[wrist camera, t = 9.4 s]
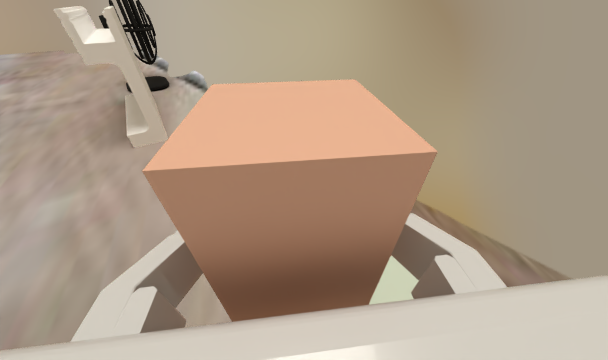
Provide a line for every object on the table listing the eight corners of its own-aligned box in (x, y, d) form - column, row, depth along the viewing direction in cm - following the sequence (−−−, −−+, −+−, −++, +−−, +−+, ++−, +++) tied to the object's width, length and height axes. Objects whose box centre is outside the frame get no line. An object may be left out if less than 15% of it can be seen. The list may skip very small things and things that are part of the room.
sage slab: (353, 388, 17) (365, 376, 14) (331, 286, 23) (336, 262, 20) (446, 372, 18) (478, 358, 15) (401, 278, 24) (417, 253, 21)
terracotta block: (248, 348, 10) (142, 170, 3) (255, 251, 14) (212, 84, 7) (355, 333, 10) (437, 152, 4) (332, 243, 14) (355, 79, 8)
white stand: (168, 139, 58) (109, 8, 40) (134, 148, 55) (53, 9, 37) (155, 101, 81) (113, 6, 63) (130, 105, 77) (78, 6, 59)
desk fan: (178, 90, 91) (138, -23, 69) (129, 98, 83) (66, -27, 61) (168, 76, 108) (133, -18, 86) (127, 81, 100) (76, -21, 78)
